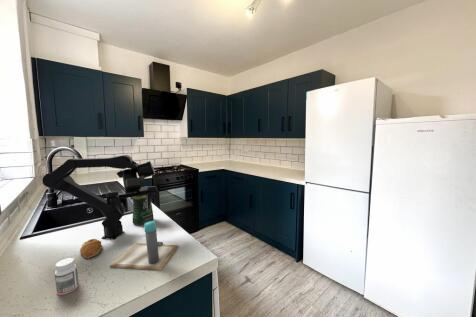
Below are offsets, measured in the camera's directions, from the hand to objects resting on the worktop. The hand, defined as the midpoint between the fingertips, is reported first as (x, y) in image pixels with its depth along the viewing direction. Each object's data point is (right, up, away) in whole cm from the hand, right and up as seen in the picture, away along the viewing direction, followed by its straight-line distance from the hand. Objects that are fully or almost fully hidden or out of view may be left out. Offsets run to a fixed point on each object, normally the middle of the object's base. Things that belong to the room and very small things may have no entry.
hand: (136, 212), depth 78 cm
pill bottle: (-8, -16, -22) cm, 28 cm away
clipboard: (+7, -14, -6) cm, 17 cm away
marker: (+12, -13, -11) cm, 21 cm away
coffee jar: (-8, -12, +23) cm, 27 cm away
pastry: (-16, -15, -3) cm, 22 cm away
